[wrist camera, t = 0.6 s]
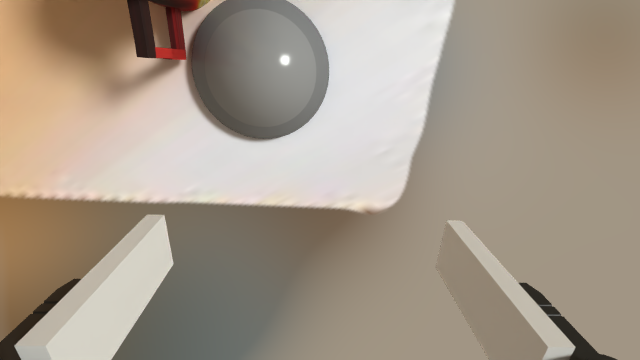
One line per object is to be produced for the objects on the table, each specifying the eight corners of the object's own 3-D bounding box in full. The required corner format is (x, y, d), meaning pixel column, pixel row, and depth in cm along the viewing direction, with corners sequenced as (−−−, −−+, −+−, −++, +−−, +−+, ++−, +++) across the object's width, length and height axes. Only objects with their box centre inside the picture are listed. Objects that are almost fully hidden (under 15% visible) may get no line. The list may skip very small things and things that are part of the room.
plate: (188, -9, 33) (183, -12, 32) (332, -1, 34) (333, -3, 33) (202, 134, 39) (198, 136, 38) (325, 138, 40) (325, 141, 38)
